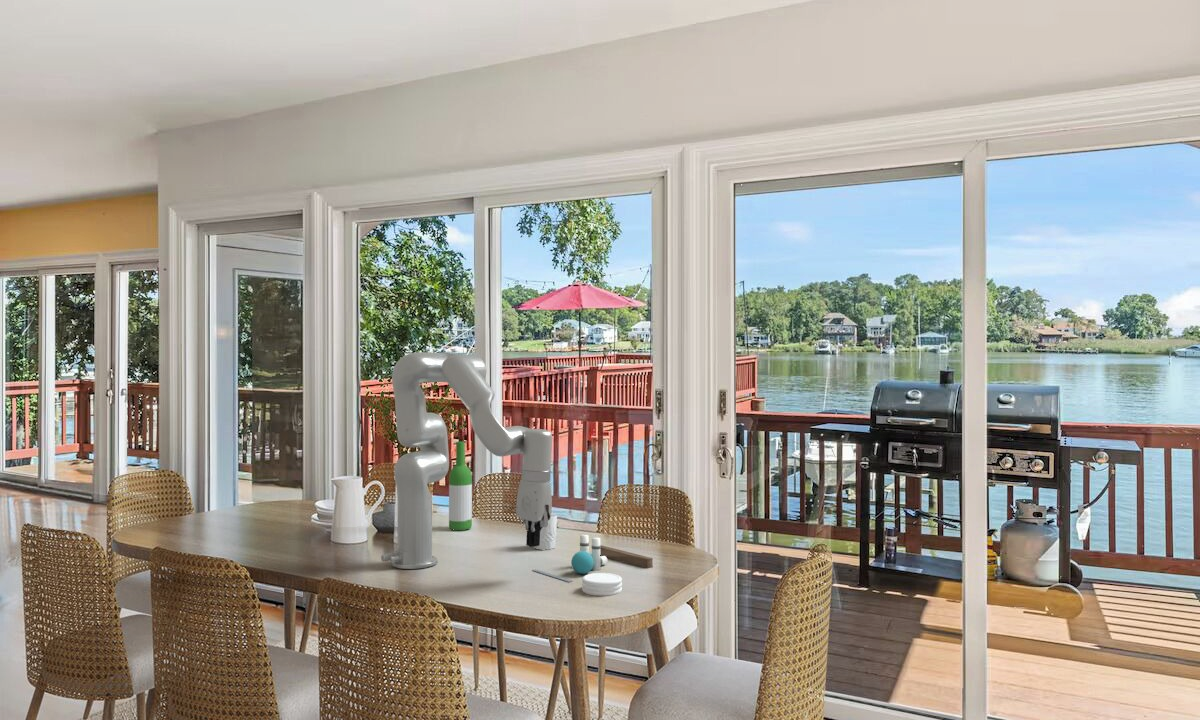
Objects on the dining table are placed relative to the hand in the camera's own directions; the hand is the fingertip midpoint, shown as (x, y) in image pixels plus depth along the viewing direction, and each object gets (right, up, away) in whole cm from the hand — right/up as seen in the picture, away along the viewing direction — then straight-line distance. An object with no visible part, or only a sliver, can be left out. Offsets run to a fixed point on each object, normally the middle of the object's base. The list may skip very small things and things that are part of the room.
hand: (532, 545), depth 214 cm
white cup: (+1, -9, +36) cm, 37 cm away
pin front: (+13, -8, +9) cm, 18 cm away
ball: (+13, -6, +5) cm, 15 cm away
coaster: (+18, -9, -11) cm, 23 cm away
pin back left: (+13, -9, +14) cm, 21 cm away
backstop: (+24, -9, +20) cm, 33 cm away
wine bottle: (-30, -10, +65) cm, 72 cm away
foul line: (+5, -9, +3) cm, 10 cm away
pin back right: (+17, -9, +10) cm, 21 cm away
